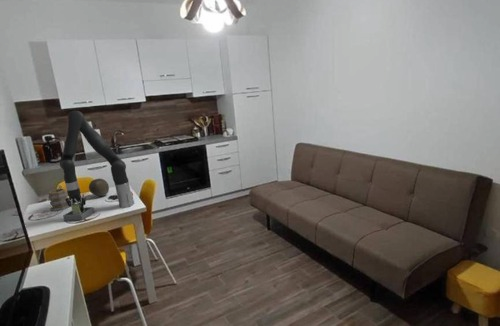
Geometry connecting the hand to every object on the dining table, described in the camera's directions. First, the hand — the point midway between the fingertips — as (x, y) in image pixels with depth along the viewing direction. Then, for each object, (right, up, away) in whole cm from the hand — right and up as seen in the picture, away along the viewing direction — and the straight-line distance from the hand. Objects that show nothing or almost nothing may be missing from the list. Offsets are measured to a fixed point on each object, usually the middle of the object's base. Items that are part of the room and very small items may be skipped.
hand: (78, 211), depth 206 cm
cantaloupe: (-5, +6, +42) cm, 43 cm away
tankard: (-27, 0, +27) cm, 38 cm away
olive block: (0, -1, 0) cm, 1 cm away
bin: (0, -4, +1) cm, 4 cm away
